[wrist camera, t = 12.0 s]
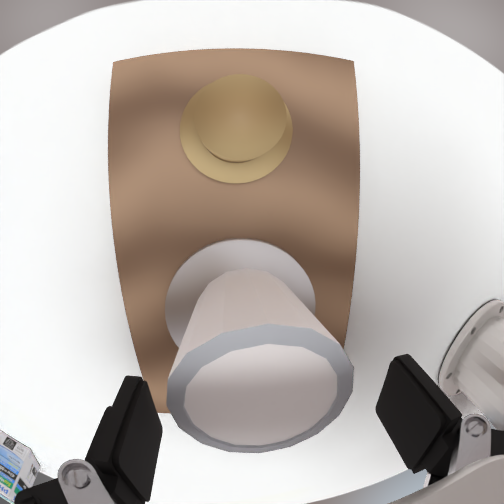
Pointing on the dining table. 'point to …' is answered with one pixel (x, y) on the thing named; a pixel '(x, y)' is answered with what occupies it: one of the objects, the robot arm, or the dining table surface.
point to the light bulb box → (15, 467)
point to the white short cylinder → (256, 367)
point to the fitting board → (230, 185)
